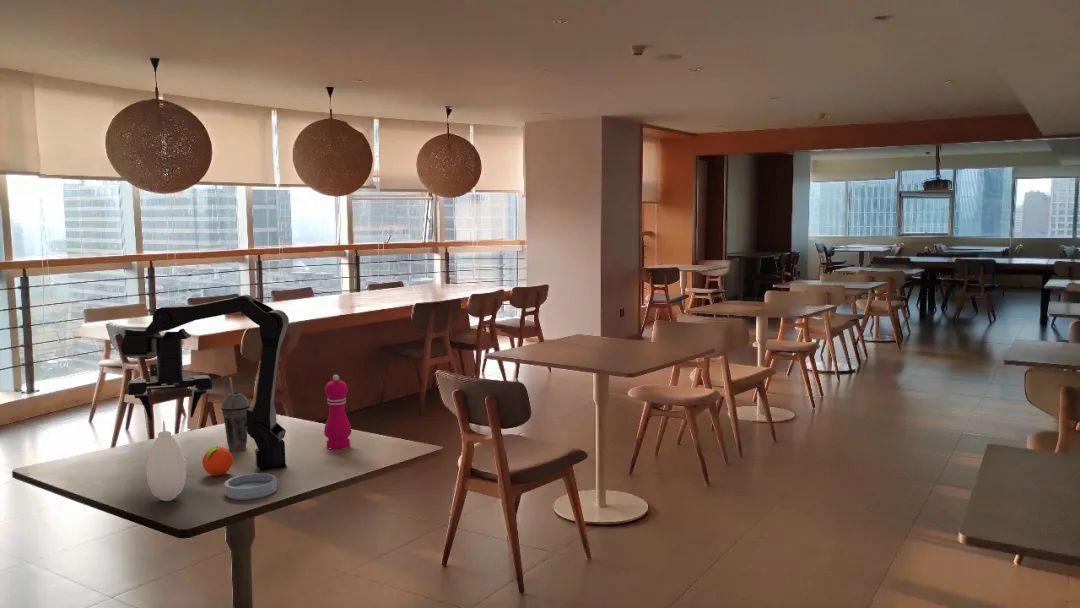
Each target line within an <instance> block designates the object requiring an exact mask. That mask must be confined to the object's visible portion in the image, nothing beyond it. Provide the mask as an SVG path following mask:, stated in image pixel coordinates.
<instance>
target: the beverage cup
mask: <svg viewBox="0 0 1080 608" xmlns="http://www.w3.org/2000/svg"><path fill="white" fill-rule="evenodd" d="M228 379H229V386H230V391H231V392H230V393H228V394H227V395H226V396H225V397H224V398H223V400H222V403H221V413H222V416H223V423H224V427H225V428H224V429H225V434H226V442H227V447H228V450H229V451H230V452H240V451H244V450H246V449H247V442H248V433H247V426H246V427H245V424H246V421H247V415H246V413H247V410H248V409H249V408H250V407H251V406H250V402H249V400H248V398H247V396H245V395H244V394H243V393H242V392H239V391H238V392H236V391H235V392H234V386H233V379H232V376H231V377H230V376H229V377H228Z"/></svg>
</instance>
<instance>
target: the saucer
mask: <svg viewBox="0 0 1080 608" xmlns="http://www.w3.org/2000/svg"><path fill="white" fill-rule="evenodd" d="M277 487H278V479H277V477H276V475H275V474H271V473H267V472H265V473H263V472H262V473H259V472H258V473H257V472H255V473H247V474H241V475H237V476H235V477H231V478H229V479H228V480H226V481H225V482H224V491H225V497H226V498H228V499H231V500H236V501H237V500H238V501H248V500H256V499H262V498H264V497H268V496H271V495H273V494H274V493H275V492H276V491H277Z"/></svg>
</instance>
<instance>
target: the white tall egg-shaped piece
mask: <svg viewBox="0 0 1080 608" xmlns="http://www.w3.org/2000/svg"><path fill="white" fill-rule="evenodd" d="M165 422H166V421H165V420H163V421H162V431H159V432H158V433H157V437H156V439H155V441H154V442H153V444H152V446H151V448H150V450H149V453H148V456H147V461H146V462H147V463H146V480H147V484H148V487H149V489H150V491H151V493H152V494H153V496H154V497H156V498H158V499H159V500H160V501H164V502H170V501H173V500H174V499H176V498H177V497H178V495H179V494H181V493H182V491H183V489H184V487H185V484H186V480H187V479H186V478H187V464H186V460H185V456H184V454H183V450H182V449H181V446H180V444H179V443H178V442H177V441H176V439H175V438H174V437H173V436H172V432H170V431H166V423H165Z"/></svg>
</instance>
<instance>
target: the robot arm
mask: <svg viewBox="0 0 1080 608" xmlns="http://www.w3.org/2000/svg"><path fill="white" fill-rule="evenodd" d="M236 313H242V314H243V315H244V316H246V317H247V318H248V319H250V321H251V322H253V323H254V324H255V325H257V326H258V327H259V337H260V341H261V347H262V349H261V357H260V364H259V374H258V382H257V391H256V399H255V400H256V401H255V404H253V405H251V406H250V407H249V409H248V410H247V413H246V415H247V421H246V424H245V427H246V426H247V435H249V437H250V438H252V439H253V440H254V443H255V445H256V447H257V448H255V450H254V453H255V454H254V455H255V459H254V460H255V466H256V467H257V469H258V470H259V472H265V471H273V470H280V469H287V468H288V465H287V463H286V444H285V443H286V442H285V441H284V440H283V439H284V438H285V437H286V432H287V430H286V429H285V428H284V427H282V425H281V424H279V423H278V422H277V410H276V406H275V402H274V401H275V394H276V391H275V390H276V384H277V375H278V367H279V359H280V353H281V352H280V349H281V345H282V343H283V341H284V339H285V336H286V332H287V330H288V327H289V322H290V320H289V319H290V318H289V316H288V314H286V313H285V312H284V311H283V310H280V309H274V308H272V307H271V306H269V305H267V304H265V303H263V302H261V301H259V300H257V299H256V298H254V297H252V295H249V294H241V295H240V296H237V297H231V298H227V299H226V298H225V299H221V300H215V301H210V302H205V303H200V304H170V305H166V306H161V307H159V308H157V309H156V310H155V311H154V313H153V314H152V321H151V322H150V323H149V324H148V326H147V327H146V328H145V329H137V328H127V329H124V335H123V337H122V343H121V354H122V355H123V357H126V358H127V357H128V358H130V357H131V358H137V357H138V358H141V357H142V358H145V357H147V358H148V357H151V356H152V355H153V354H154V353H156V363H149V378H156V381H150V382H147V381H146V378H142V379H130V380H129V381H128V382H127V393H128V394H127V395H129V396H134V399H139V400H140V402H141V404H142V406H143V408H144V409H145V412H146V415H147V417H148V419H149V422H153V420H152V419H153V417H152V416H153V415H152V410H151V405H150V400H149V394H148V391H153V390H155V391H157V390H165V389H167V390H169V389H181V388H191V399H190V400H191V401H190V410H189V413H190V415H189V416H190V419H191V418H193V417H194V414H195V412H196V408H197V406H198V403H199V401H200V399H201V398H202V395H203V394H207V392H208V391H207V390H212V389H213V381H212V378H211V377H210V375H208V374H203V375H193V377H192V379H183V378H184V377H183V375H184V374H183V371H184V370H183V367H184V366H183V340H187V339H189V338H191V336H192V335H191V334H190V333H189V332H188V331H186V329H185V328H180V329H179V330H178V331H171V330H173V329H176V328H179V327H181V326H183V325H186V324H189V323H192V322H195V321H198V320H204V319H208V318H209V319H210V318H214V317H220V316H225V315H230V314H236ZM162 332H165V333H164V334H163V335H157V334H160V333H162Z"/></svg>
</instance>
